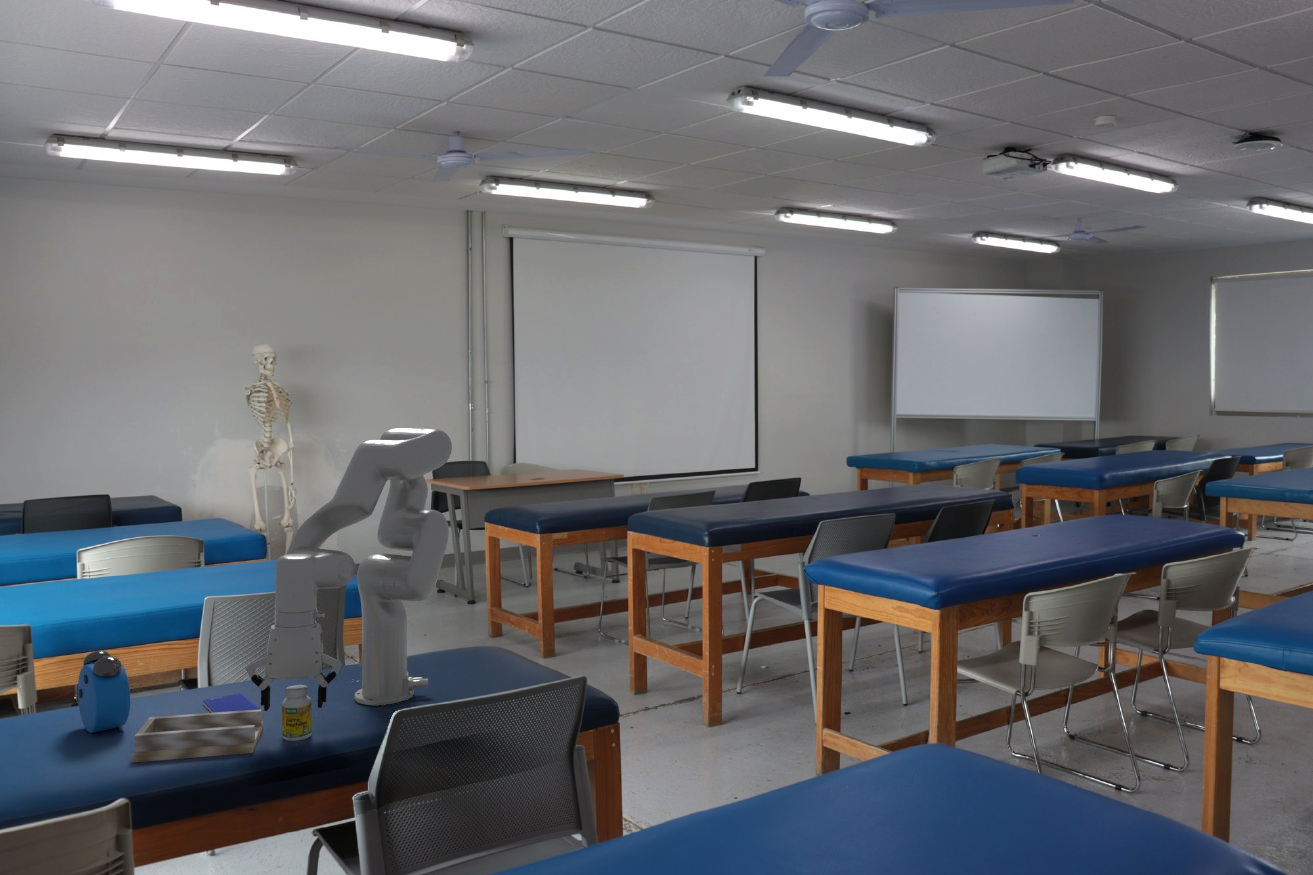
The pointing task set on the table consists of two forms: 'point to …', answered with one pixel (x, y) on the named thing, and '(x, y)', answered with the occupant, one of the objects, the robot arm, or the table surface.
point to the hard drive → (229, 703)
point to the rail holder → (198, 735)
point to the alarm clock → (103, 692)
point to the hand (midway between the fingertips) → (293, 707)
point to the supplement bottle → (296, 714)
